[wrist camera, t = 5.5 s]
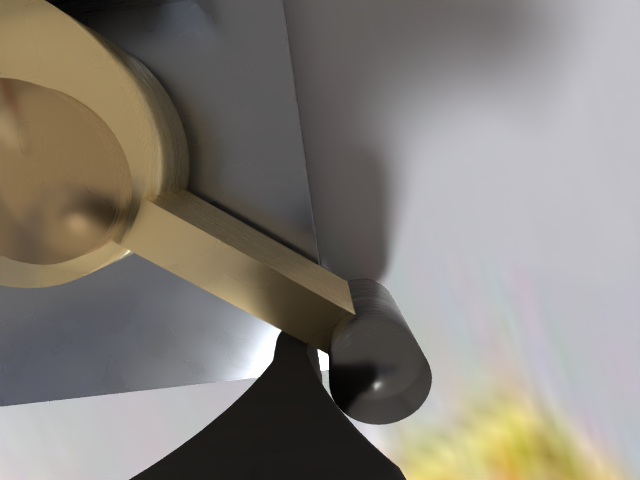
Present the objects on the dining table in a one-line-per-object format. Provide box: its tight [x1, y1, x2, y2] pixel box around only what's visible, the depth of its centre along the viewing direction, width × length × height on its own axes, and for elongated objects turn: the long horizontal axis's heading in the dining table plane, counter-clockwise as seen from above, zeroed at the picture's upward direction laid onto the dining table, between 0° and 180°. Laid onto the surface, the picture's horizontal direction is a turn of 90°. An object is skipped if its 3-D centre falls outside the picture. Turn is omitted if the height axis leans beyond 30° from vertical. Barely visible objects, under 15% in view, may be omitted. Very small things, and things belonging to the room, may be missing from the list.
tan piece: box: [0, 0, 432, 425], centre depth 8 cm, size 15×7×4 cm, turn 59°
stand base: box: [0, 0, 329, 406], centre depth 9 cm, size 16×16×3 cm
